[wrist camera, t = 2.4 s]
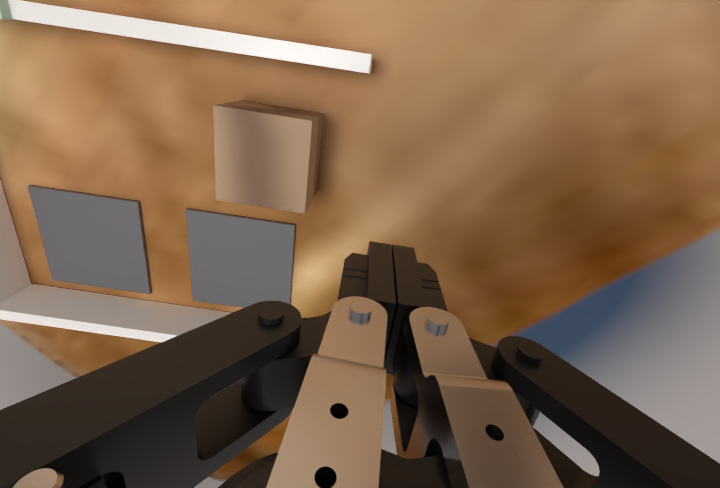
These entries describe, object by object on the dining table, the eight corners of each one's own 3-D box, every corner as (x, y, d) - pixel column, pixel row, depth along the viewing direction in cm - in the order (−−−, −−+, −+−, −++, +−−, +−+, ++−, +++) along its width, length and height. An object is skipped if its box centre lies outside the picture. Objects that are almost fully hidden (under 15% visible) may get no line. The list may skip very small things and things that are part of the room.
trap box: (373, 56, 24) (371, 51, 20) (335, 336, 34) (328, 371, 30) (-72, -12, 24) (-167, -31, 20) (23, 291, 34) (-27, 320, 30)
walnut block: (324, 113, 26) (312, 120, 22) (316, 191, 29) (304, 213, 24) (242, 100, 26) (213, 105, 21) (242, 180, 29) (215, 199, 24)
